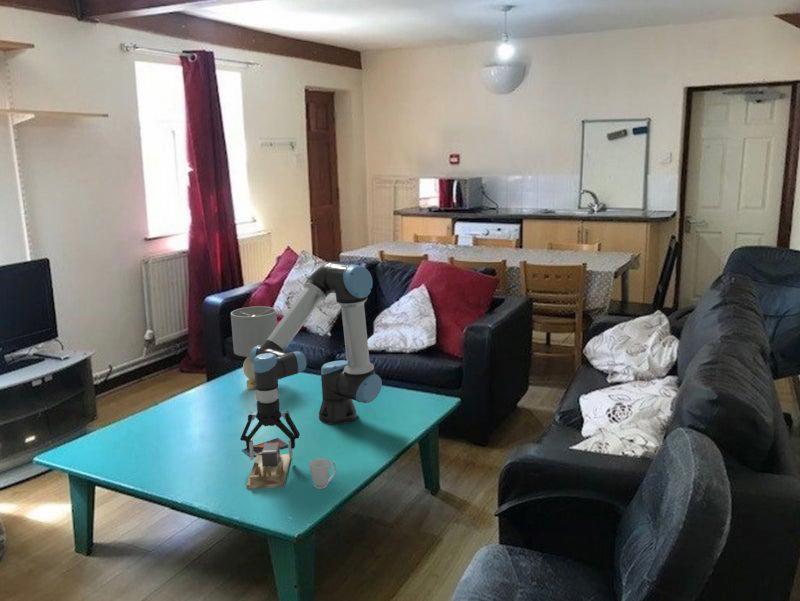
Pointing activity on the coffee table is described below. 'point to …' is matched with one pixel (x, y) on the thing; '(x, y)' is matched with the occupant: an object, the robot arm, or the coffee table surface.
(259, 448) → the smartphone
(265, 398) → the robot arm
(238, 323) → the lamp
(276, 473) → the board
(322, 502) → the coffee table surface
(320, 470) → the cup
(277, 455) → the plug
